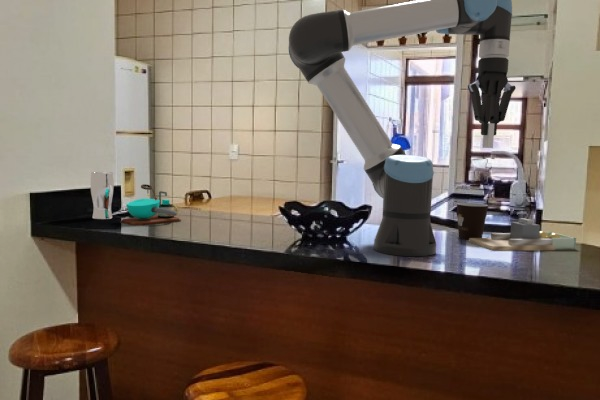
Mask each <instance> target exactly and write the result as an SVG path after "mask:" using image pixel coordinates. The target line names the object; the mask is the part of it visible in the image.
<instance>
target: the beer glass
mask: <svg viewBox="0 0 600 400" xmlns="http://www.w3.org/2000/svg"><path fill="white" fill-rule="evenodd" d="M113 174H114V173H113V172H112V171H94V172H93V171H91V172H90V195H91V199H92V204H93V205H92V206H93V211H92V212H93V213H92V219H94V220H110V219H112V218H113V213H112V202H113V195H114V188H115V187H114V175H113Z"/></svg>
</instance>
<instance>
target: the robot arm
mask: <svg viewBox="0 0 600 400" xmlns="http://www.w3.org/2000/svg"><path fill="white" fill-rule="evenodd" d="M512 17H513V1H512V0H413V1H407V2H402V3H398V4H397V3H396V4H392V5H384V6H381V7H380V6H379V7H373V8H369V9H368V8H367V9H363V10H358V11H357V10H356V11H352V12H348V11H346V10H345V9H343V8H341V9H337V10H331V11H323V12H316V13H312V14H311V13H310V14H307V15H304V16H302V17H301V18H299V19H298V20H297V21H296V22H294V24H292V25H293V26H292V27H291V28H290V32H289V34H288V35H289V36H288V53H289V58H290V60H291V62H292V63H293V64H294V66H296V68H298V69H299V71H300V72H301V74H302V75H303V76H304V78H305V81H307V83H308V84H309V85H313V86H316V87H317V88H318V89H319V91H320V93H321V95H322V96H323V98H324V99H325V101H326V102H327V103H328V105H329V107H330V108H331V110H332V112H333V113H334V115H335V116H336V117H337V119H338V121H339V123H340V124H341V125H342V128H343V129H344V130H345V132H346V133H347V135H348V137H349V138H350V140H351V142H352V143H353V145H354V146H355V147H356V149H357V150H358V152H359V153H360V155H361V157H362V158H363V160H364V165H363V170H364V172H365V173H366V175H367V176H368V178H369V179H370V181H371V184H372V186H373V189H374V191H375V193H376V194H377V195H378V196H379V197H381V198H382V199H383V200H382V219H381V221H380V223H379V227H378V229H377V232H376V235H375V237H374V239H373V240H374V241H373V242H374V244H373V249H374V250H375V251H377V252H379V253H383V254H385V255H386V254H387V255H392V256H400V257H426V256H432V255H435V254H436V253H437V242H436V241H437V240H436V239H435V234H434V230H433V227H432V223H431V222H432V221H431V212H432V211H431V210H432V197H433V195H432V194H433V178H434V174H435V173H434V165H433V164H434V163H433V161H432V160H431V159H430V158H428V157H425V156H419V155H413V154H412V155H411V154H406V152H405V150H404V149H403V148H402V146H401V145H400V144H395V143H393V142H392V140H391V139H390V137H388V134H387V133H386V131H385V130H384V128H383V127H382V125H381V123H380V122H379V121H378V119H377V117H376V115H375V114H374V112H373V110H372V109H371V108H370V106H369V104H368V103H367V102H366V99H365V98H364V97H363V94H361V92H360V90H359V89H358V87H357V85H356V84H355V82H354V81H353V79H352V77H351V75H349V73H348V71H347V70H346V67H345V64H346V57H345V55H344V54H343V53H344V52H349V51H350V50H351V49H352V47H353V46H359V45H364V44H369V43H375V42H380V41H385V40H391V39H392V40H393V39H396V38H401V37H406V36H407V37H408V36H413V35H418V34H422V33H430V32H436V33H437V34H442V35H447V36H449V35H461V36H462V35H463V36H464V35H466V36H469V35H471V36H472V35H473V36H479V46H478V47H479V48H478V49H479V50H478V58H480V59H479V60H478V62H477V77H476V80H475V81H473V82H472V83H470V84H468V85H467V90H468V91H469V92H470V96H471V104H472V110H473V116H474V121H478V122H479V123H480V124H481V125H480V135H481V136H482V148H483V149H493V148H494V136H497V132H498V131H497V130H498V129H497V128H498V124H499V123H500V122H504V121H505V118H506V116H507V113H508V109H509V105H510V102H511V98H512V95H513V93H514V92H515V90H516V89H517V88H516V86H515V85H511V84H510V83H509V80H508V79H509V78H508V76H507V74H508V71H509V62H510V61H509V59H508V57H509V56H510V41H511V31H512V30H511V27H512ZM502 91H503V93H502Z"/></svg>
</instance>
